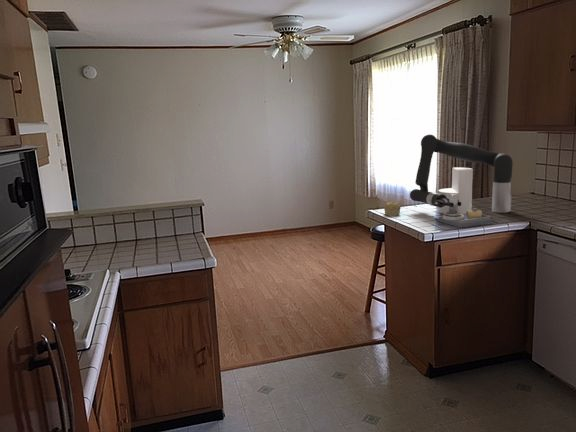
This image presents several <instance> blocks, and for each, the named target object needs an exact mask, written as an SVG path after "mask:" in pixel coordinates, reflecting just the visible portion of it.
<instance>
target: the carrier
mask: <svg viewBox="0 0 576 432" xmlns="http://www.w3.org/2000/svg"><path fill="white" fill-rule="evenodd" d="M437 221H438V222H441V223H444V224H447V225H452V226H455V227H457V228H465V227H474V226H479V225H486V224H487V225H488V224H492V222H493V215H487V214H484V213H483V211H482V210H481V209H478V207H472V208H471V210H468V211H467V213H466V214H460V216H459V217H448V216H446V214H443V213H442V216H439V217H437Z"/></svg>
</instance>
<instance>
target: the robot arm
mask: <svg viewBox="0 0 576 432" xmlns="http://www.w3.org/2000/svg"><path fill="white" fill-rule="evenodd" d="M420 146H421V152H420V159H419V164H418V168H417V172H416V178H415V182H414V183H415V185H417V186H419V188H420V189H418V188H417V189H416V188H414V189H412V190H411V191H410V192H409V198H410V200H412V201H413V202H419V203H423V204H427V205H430V206H433V207H436V208H438V207H440V208H441V207H444V206H450V207H454V203H452V202H449V198H447V197H446V196H445V195H444V194H439V193H438V192H432V191H429V186H428V185H429V184H428V183H429V178H430V173H431V172H430V171H431V163H432V159H433V155H434V153H438V154H442V155H446V156H448V157H452V158H455V159H458V160H461V161H465V162H471V163H479V164H480V163H481V164H484V165H488V166H492V167H493V168H494V169H493V178H492V179H493V180H492V181H493V182H492V198H491V199H492V202H491V212H493V213H498V214H499V213H503V214H506V213H509V212H511V210H512V194H511V187H512V186H511V185H512V176H513V163H514V161H513V158H512V157H511V156H510V155H509V154H508V153H503V152H495V151H490V150H485V149H483V148H481V147H478V146H475V145H471V144H468V143H462V142H453V141H445V140H442V139H439V138H437V137H436V136H435V135H433V134H431V133H430V134H425V135H424V136H423V137H422V138H421V140H420ZM458 206H461V202H459V200H458Z"/></svg>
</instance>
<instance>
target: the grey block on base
mask: <svg viewBox="0 0 576 432" xmlns="http://www.w3.org/2000/svg"><path fill="white" fill-rule="evenodd" d="M449 202H452V203H454V207H450V206H449V212H447V213H446V216H448V217H459V216H460V213H459V212H458V194H449Z"/></svg>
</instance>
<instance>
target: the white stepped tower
mask: <svg viewBox="0 0 576 432" xmlns="http://www.w3.org/2000/svg"><path fill="white" fill-rule="evenodd" d="M451 170H452V171H451V175H452V176H451V187H448V188H447V187H446V188H440V189H438V191H437V193H439V194H444V195H445V196H446V197H447V198H449V194H458V200H459V202H461V206H458V212H459V213H460V214H466V213H467V211H468V210H472V208H473V207H472V206H473V205H472V202H473V201H472V200H473V176H474V175H473V173H474V171H473V170H474V168H470V167H461V166H460V167H457V166H456V167H452V169H451ZM447 212H449V206H444V207H441V208H440V207H437V213H440V214H442V215H443V214H446V213H447Z"/></svg>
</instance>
